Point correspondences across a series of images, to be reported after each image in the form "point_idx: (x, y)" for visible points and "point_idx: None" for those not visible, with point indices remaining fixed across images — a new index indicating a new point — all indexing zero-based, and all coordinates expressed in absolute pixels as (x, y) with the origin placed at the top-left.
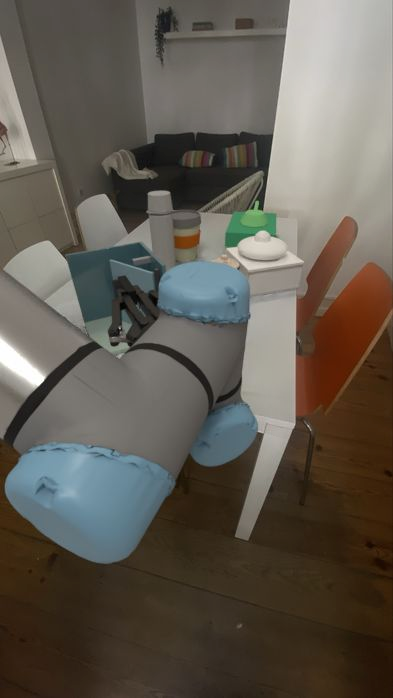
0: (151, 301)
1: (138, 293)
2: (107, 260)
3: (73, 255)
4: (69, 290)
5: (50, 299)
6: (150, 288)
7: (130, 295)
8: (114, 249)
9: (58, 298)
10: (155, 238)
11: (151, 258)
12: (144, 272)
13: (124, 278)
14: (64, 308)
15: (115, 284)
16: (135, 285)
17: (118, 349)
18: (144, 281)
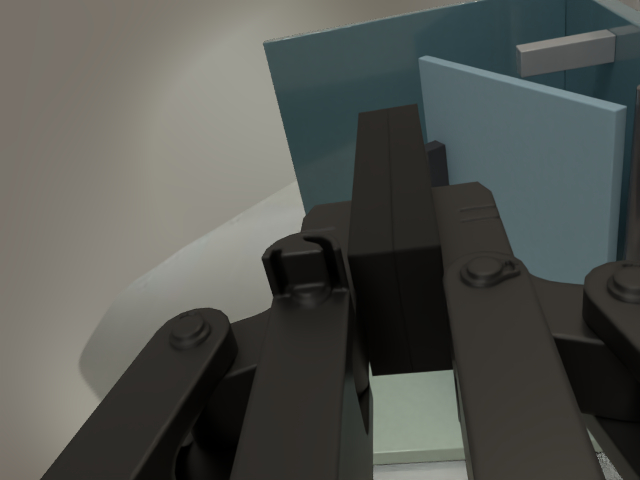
0: (605, 401)
1: (457, 289)
2: (418, 64)
3: (290, 43)
4: None
5: (278, 191)
6: (591, 195)
7: (380, 288)
8: (451, 17)
9: (297, 190)
10: (633, 1)
11: (621, 38)
12: (570, 106)
13: (398, 124)
14: (297, 222)
15: (430, 161)
16: (468, 185)
17: (393, 447)
18: (562, 155)
